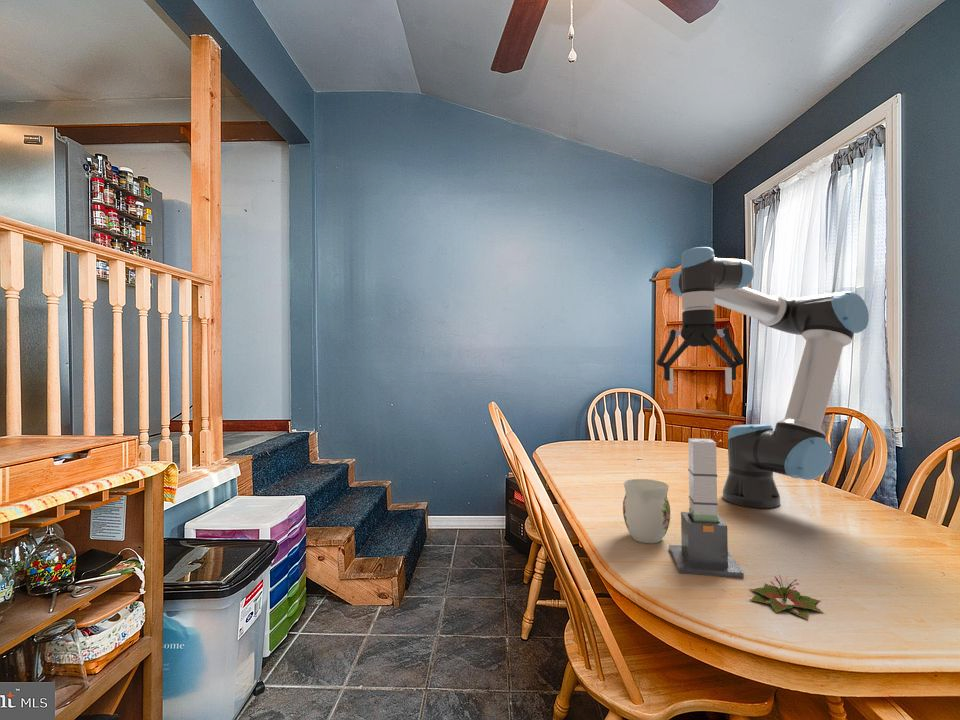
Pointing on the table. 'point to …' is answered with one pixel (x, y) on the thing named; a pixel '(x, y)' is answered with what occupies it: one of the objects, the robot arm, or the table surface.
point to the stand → (704, 549)
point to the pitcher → (646, 509)
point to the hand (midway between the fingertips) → (699, 393)
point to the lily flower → (785, 598)
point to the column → (702, 481)
